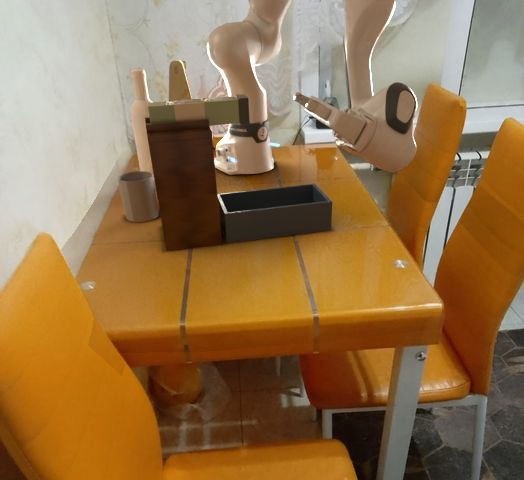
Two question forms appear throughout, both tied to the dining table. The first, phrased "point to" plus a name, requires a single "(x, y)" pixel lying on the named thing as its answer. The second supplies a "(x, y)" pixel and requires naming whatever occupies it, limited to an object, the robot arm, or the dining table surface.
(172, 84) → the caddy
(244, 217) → the crate
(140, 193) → the cup
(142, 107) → the bottle
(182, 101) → the drawer
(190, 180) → the stand
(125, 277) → the dining table surface
